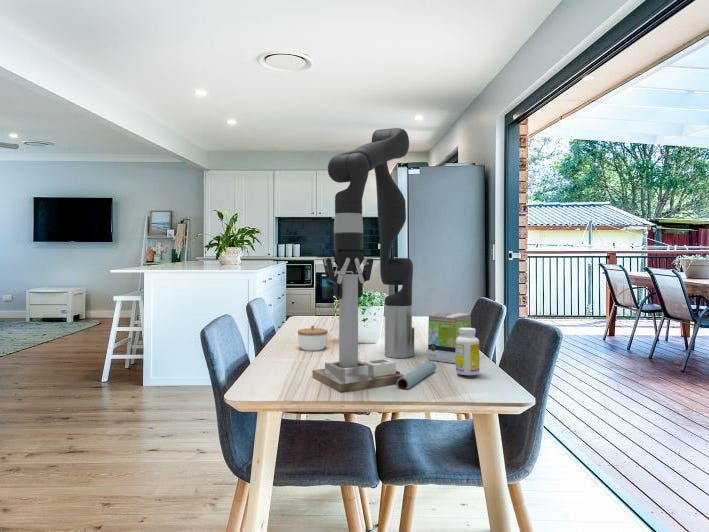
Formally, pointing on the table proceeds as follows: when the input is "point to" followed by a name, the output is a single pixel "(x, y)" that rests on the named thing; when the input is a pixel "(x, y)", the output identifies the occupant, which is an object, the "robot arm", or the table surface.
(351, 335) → the tube
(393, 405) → the table surface
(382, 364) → the white hollow block
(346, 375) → the desk organizer tray
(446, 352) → the tea box
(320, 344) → the lidded jar
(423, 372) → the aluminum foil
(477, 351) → the supplement bottle
